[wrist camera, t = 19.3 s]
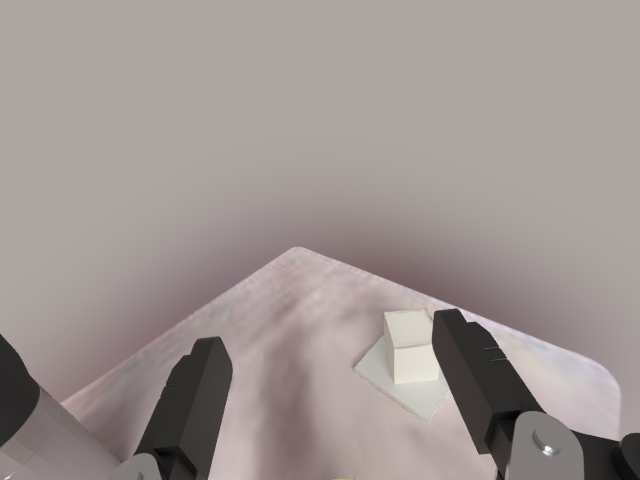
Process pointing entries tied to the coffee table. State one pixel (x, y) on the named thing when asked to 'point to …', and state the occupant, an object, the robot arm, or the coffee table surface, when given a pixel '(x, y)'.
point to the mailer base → (344, 479)
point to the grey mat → (402, 384)
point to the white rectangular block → (410, 346)
